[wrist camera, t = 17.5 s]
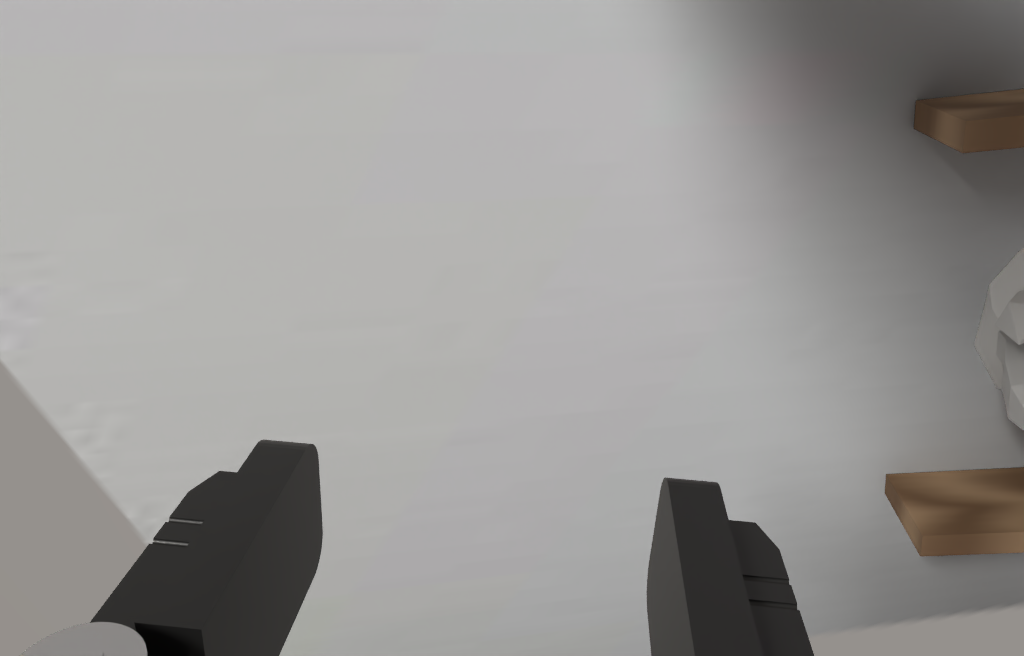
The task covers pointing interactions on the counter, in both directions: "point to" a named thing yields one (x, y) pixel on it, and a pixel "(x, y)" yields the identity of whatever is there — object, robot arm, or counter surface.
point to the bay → (967, 493)
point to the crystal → (1005, 336)
